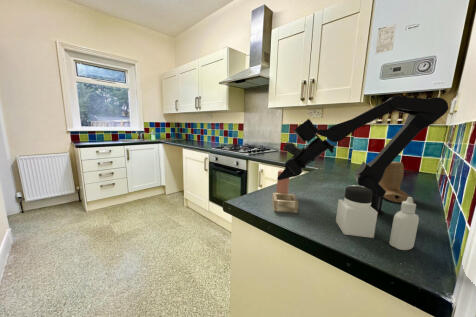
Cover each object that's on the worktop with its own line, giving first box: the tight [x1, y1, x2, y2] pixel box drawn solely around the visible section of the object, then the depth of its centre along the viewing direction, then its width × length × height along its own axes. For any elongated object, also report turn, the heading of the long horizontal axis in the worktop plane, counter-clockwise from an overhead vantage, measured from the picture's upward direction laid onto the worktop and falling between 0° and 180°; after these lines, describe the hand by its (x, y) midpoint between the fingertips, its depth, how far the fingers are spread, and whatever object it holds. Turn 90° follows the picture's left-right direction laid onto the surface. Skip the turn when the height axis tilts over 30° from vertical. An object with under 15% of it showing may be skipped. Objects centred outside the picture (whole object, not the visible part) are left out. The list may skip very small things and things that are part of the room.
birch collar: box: [271, 192, 299, 214], centre depth 65 cm, size 8×8×4 cm
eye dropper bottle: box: [389, 196, 420, 251], centre depth 44 cm, size 4×6×12 cm
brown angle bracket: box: [379, 161, 415, 204], centre depth 77 cm, size 15×12×15 cm
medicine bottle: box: [335, 184, 379, 239], centre depth 51 cm, size 7×7×12 cm
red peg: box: [276, 169, 290, 194], centre depth 76 cm, size 4×4×10 cm
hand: (280, 176), depth 76 cm, fingers open, 9 cm apart
